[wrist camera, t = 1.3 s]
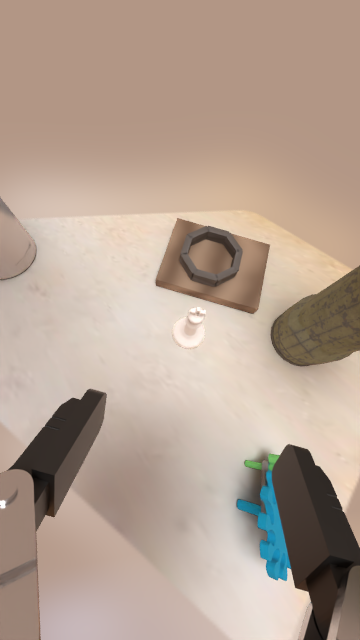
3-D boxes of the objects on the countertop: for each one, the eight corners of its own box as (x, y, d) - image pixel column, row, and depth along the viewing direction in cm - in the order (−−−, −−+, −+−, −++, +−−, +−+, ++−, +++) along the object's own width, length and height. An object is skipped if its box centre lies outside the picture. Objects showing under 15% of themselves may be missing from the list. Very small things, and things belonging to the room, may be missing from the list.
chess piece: (173, 315, 37) (178, 286, 27) (205, 319, 37) (221, 291, 28) (170, 347, 35) (174, 328, 26) (203, 350, 35) (220, 332, 26)
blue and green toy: (306, 573, 27) (272, 600, 20) (255, 550, 30) (213, 567, 24) (300, 460, 32) (272, 453, 25) (257, 452, 35) (222, 444, 29)
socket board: (156, 285, 38) (155, 272, 34) (176, 226, 42) (178, 209, 38) (253, 313, 38) (263, 304, 34) (264, 251, 42) (275, 237, 38)
